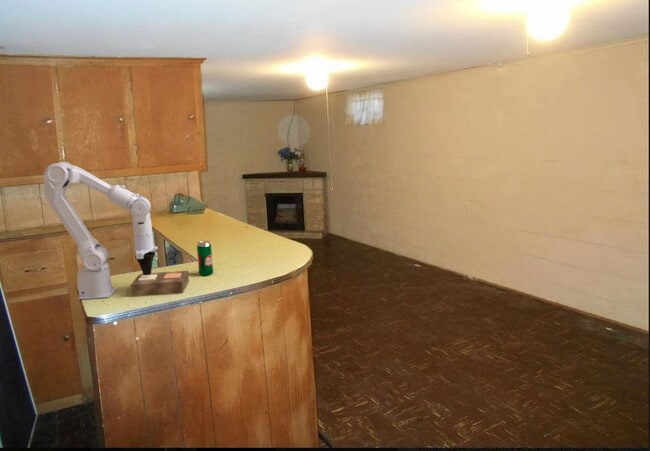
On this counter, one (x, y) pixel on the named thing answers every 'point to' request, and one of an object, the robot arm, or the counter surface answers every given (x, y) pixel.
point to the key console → (160, 285)
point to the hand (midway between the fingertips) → (147, 274)
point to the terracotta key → (172, 276)
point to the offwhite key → (147, 277)
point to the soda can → (204, 258)
